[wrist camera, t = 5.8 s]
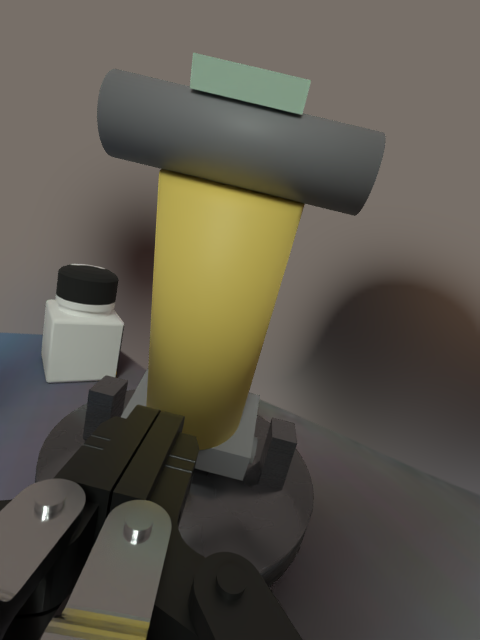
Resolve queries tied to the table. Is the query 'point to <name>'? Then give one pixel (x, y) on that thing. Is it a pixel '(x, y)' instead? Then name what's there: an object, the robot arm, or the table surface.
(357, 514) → the table surface
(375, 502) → the table surface
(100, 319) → the medicine bottle
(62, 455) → the dark grey round stand
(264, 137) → the yellow mallet
